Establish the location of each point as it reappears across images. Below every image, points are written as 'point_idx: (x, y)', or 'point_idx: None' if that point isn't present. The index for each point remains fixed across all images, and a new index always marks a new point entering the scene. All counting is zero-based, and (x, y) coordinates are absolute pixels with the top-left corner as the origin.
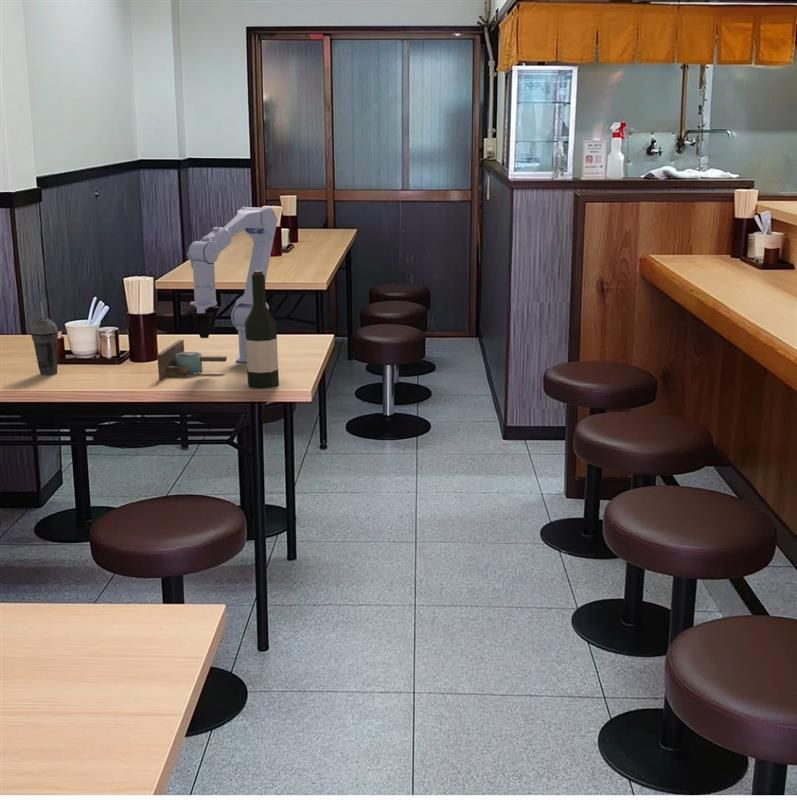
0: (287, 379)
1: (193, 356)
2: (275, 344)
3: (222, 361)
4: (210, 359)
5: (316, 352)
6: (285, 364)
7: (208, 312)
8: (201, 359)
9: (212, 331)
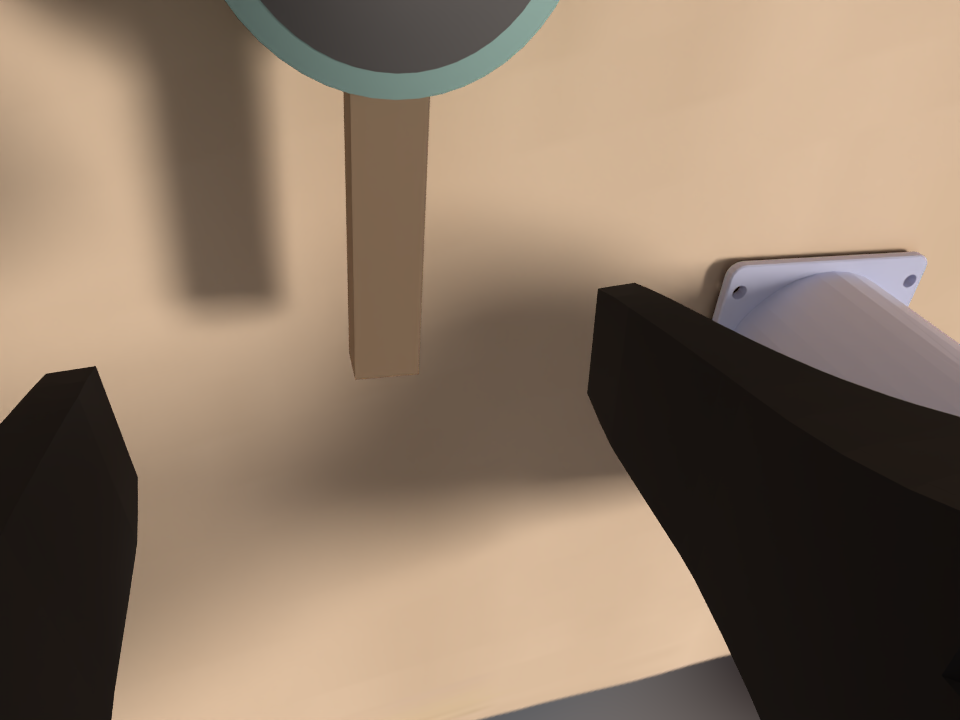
0: (173, 705)
1: (251, 19)
2: None
3: (350, 328)
4: (348, 214)
5: None
6: (594, 570)
7: (837, 657)
8: (348, 97)
9: (599, 403)
